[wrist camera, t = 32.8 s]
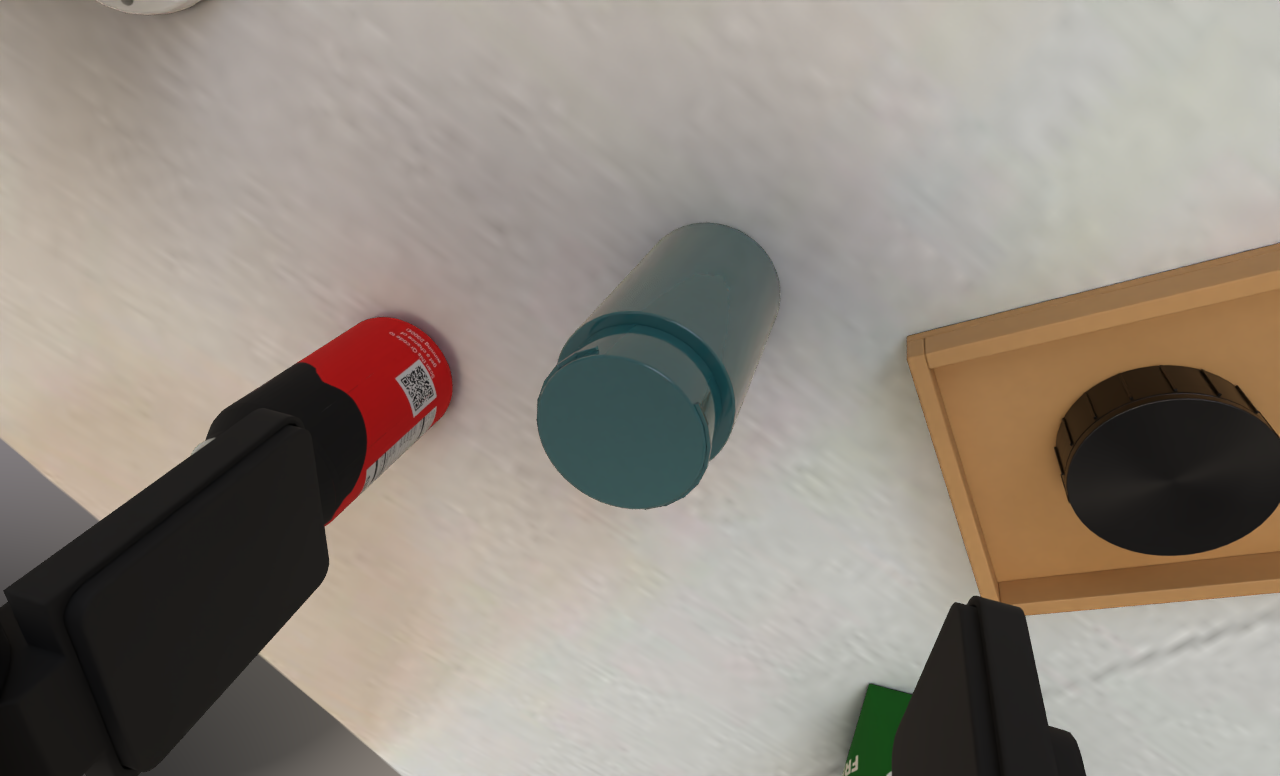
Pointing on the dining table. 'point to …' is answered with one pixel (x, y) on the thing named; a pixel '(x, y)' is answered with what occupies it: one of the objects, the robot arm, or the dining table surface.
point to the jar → (661, 369)
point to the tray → (1042, 395)
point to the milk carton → (876, 732)
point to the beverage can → (356, 403)
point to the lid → (1168, 461)
